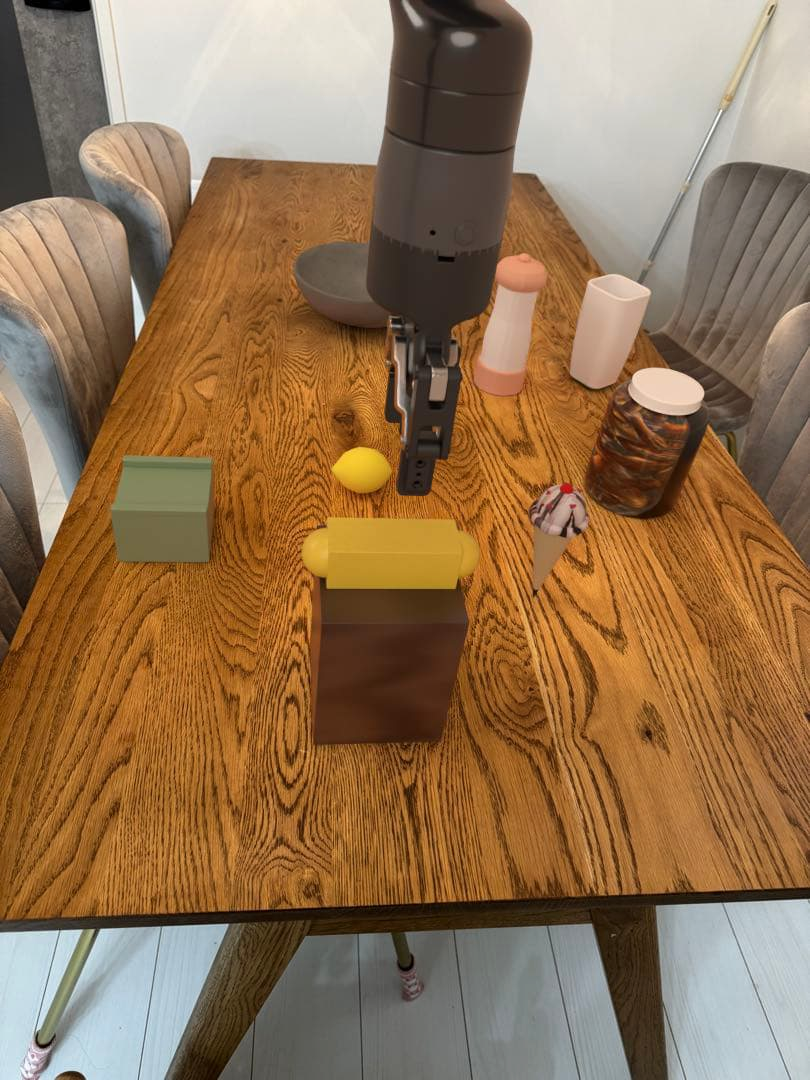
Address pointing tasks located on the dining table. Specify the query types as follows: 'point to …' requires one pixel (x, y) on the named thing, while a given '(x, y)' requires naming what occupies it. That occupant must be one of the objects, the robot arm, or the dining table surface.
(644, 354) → the dining table surface
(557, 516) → the ice cream cone
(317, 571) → the yellow ball-topped peg
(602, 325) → the cup
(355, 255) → the bowl
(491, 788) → the dining table surface
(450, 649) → the block
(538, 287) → the salt shaker
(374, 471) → the lemon
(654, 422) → the jar
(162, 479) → the block
